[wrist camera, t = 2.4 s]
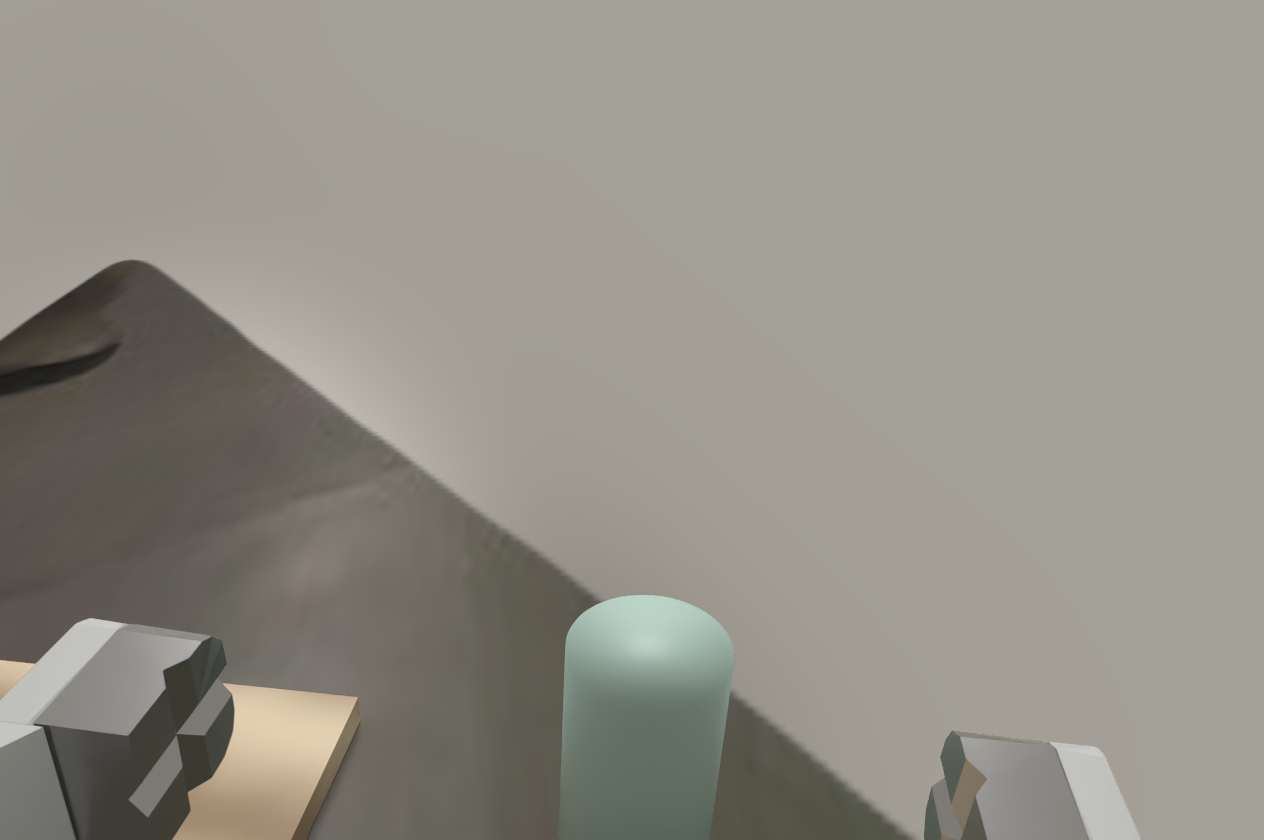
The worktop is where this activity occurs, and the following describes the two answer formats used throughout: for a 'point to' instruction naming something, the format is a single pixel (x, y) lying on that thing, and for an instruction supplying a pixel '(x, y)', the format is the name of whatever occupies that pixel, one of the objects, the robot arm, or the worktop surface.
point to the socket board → (264, 763)
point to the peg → (643, 720)
